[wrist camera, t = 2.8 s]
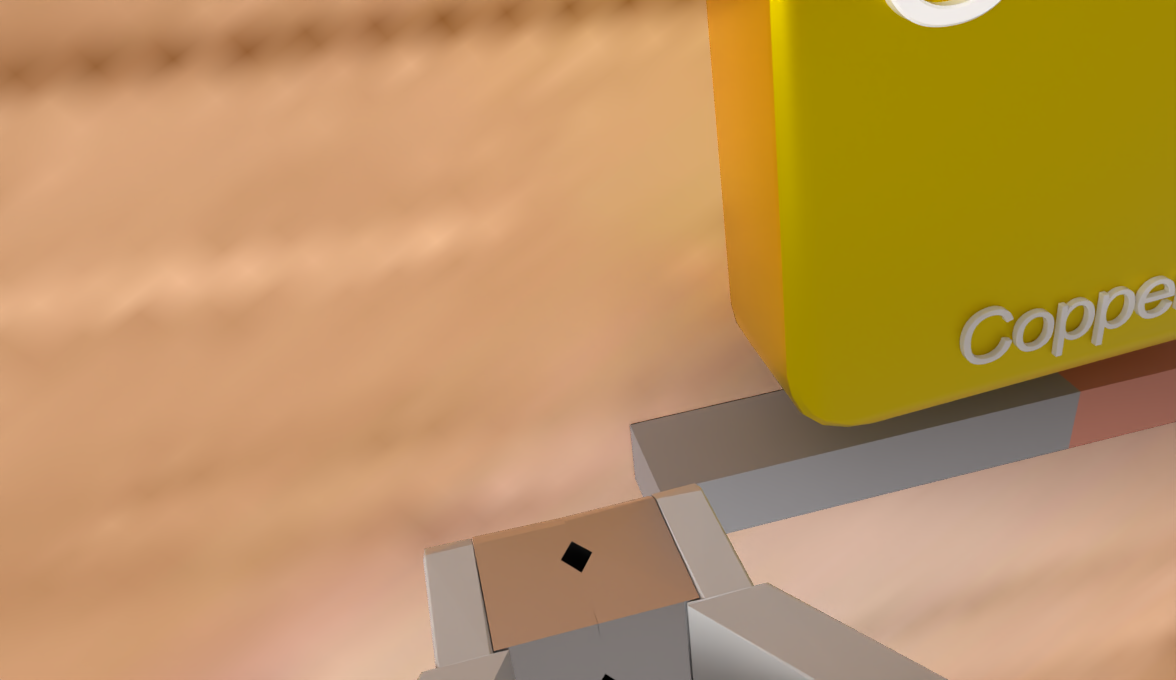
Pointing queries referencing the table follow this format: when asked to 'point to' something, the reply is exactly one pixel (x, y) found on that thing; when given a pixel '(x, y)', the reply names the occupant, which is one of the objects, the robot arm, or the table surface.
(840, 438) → the trap track
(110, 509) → the table surface
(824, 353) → the element tile
